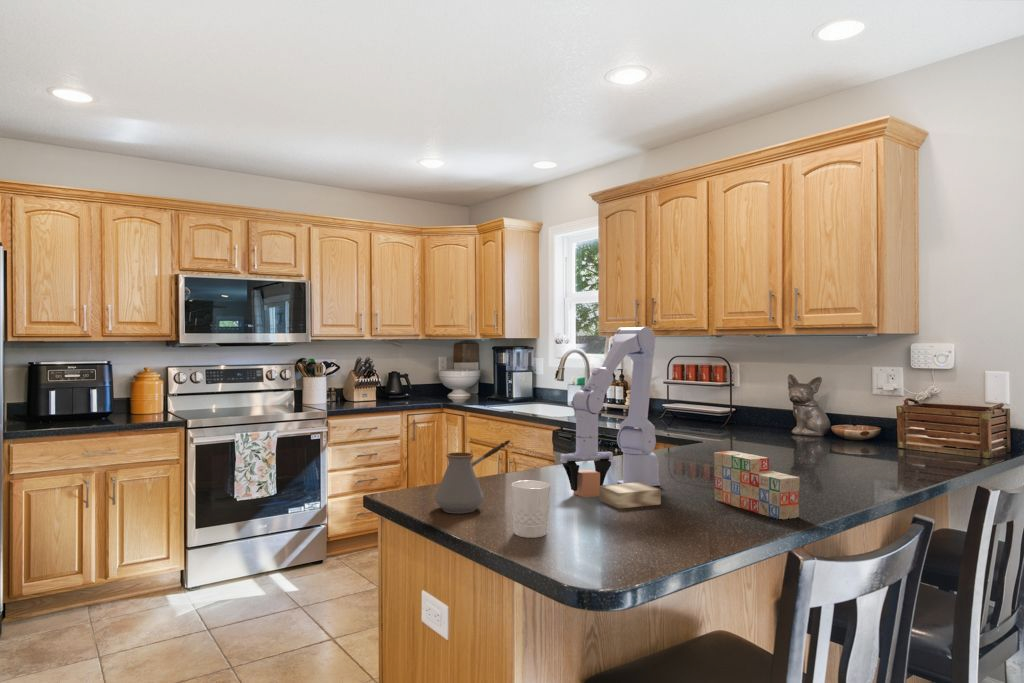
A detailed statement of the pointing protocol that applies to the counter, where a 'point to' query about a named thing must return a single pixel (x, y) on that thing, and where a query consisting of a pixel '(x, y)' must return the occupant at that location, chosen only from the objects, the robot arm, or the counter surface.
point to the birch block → (629, 495)
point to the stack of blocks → (755, 485)
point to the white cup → (530, 508)
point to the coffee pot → (462, 483)
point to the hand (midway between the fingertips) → (586, 489)
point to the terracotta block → (588, 483)
